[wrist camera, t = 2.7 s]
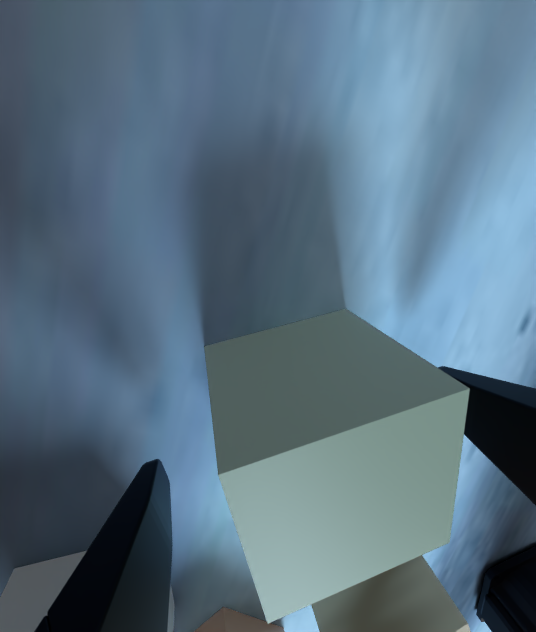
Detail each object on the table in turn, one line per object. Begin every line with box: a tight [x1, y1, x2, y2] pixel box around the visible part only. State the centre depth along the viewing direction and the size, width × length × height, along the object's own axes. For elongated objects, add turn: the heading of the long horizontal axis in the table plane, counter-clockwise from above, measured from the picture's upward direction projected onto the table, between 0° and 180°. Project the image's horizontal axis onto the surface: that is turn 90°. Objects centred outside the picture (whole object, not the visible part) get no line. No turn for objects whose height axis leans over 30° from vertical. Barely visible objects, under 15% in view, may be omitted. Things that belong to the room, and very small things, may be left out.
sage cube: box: [204, 309, 470, 624], centre depth 8 cm, size 5×5×5 cm
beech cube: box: [311, 555, 470, 632], centre depth 13 cm, size 5×5×5 cm
